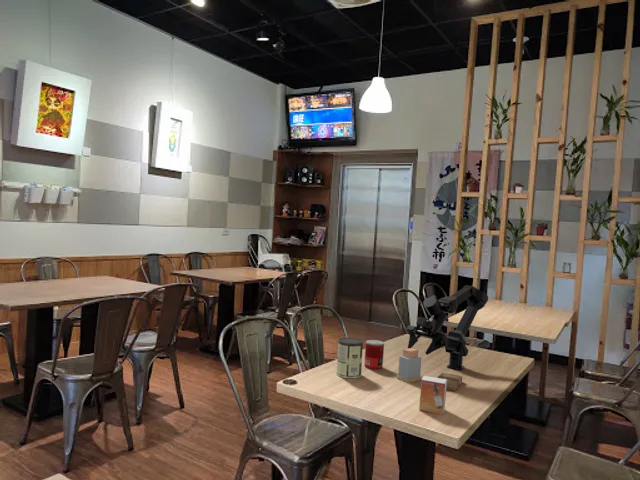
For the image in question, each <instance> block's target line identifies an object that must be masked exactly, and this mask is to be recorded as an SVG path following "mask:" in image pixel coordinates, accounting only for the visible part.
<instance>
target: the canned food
mask: <svg viewBox="0 0 640 480" xmlns="http://www.w3.org/2000/svg"><path fill="white" fill-rule="evenodd" d="M384 349H385V342H383V341H381V340H378V339H368V340H366V341H365V349H364V367H365V368H367V369H369V370H381V369H382V368H383V366H384V364H383V363H384V352H385V350H384Z"/></svg>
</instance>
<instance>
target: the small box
mask: <svg viewBox="0 0 640 480" xmlns="http://www.w3.org/2000/svg"><path fill="white" fill-rule="evenodd" d="M446 387H447V379H440V378H437V377H433V376H427V375H423V377H422V379H421V382H420V396H419V408H418V410H419V411H422V412H427V413H432V414H437V415H441V416H443V415H444V413H445V409H446V397H447V390H446Z"/></svg>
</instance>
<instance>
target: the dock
mask: <svg viewBox="0 0 640 480" xmlns="http://www.w3.org/2000/svg"><path fill="white" fill-rule="evenodd" d="M436 378H440V379H447V387H446V391H449V392H455V391H456V390H457V389H458V388H459V386H460V385H461V384H462V383H463V375H459V374H455V373H454V374H453V373H449V372H444V371H441V373H440V374H439V375H438V376H437V377H436Z"/></svg>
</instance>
